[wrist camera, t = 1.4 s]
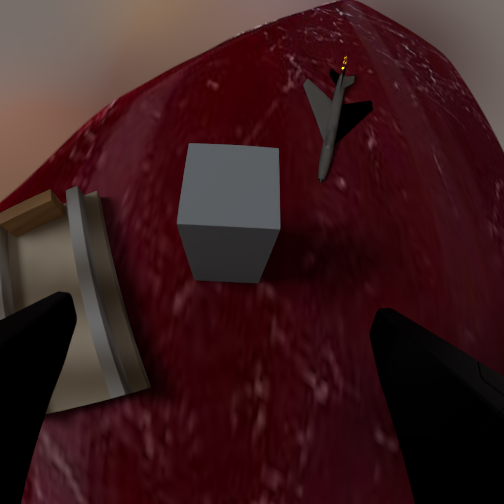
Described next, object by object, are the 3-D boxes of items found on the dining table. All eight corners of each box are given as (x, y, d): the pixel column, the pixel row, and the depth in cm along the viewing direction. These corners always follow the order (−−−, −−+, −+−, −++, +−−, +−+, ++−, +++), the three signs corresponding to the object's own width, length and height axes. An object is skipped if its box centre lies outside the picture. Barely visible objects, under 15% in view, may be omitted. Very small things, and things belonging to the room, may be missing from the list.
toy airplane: (274, 172, 26) (278, 155, 24) (315, 48, 33) (319, 35, 31) (361, 200, 26) (371, 186, 24) (373, 68, 33) (379, 55, 31)
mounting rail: (151, 387, 19) (137, 390, 16) (26, 417, 17) (0, 421, 13) (100, 197, 23) (85, 173, 20) (-4, 242, 21) (-26, 225, 18)
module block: (258, 283, 22) (280, 229, 14) (194, 279, 22) (176, 223, 13) (259, 221, 24) (278, 144, 15) (199, 218, 23) (189, 138, 15)
